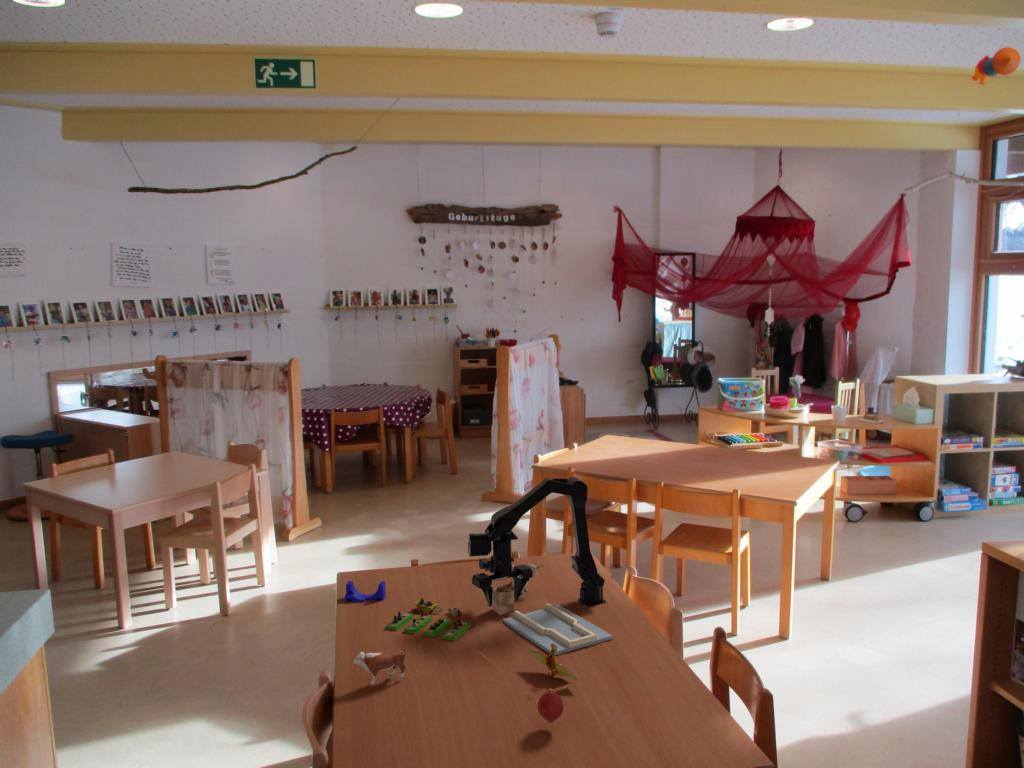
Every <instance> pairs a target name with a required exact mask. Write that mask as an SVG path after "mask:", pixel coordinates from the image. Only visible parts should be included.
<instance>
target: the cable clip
mask: <svg viewBox="0 0 1024 768" xmlns="http://www.w3.org/2000/svg"><path fill="white" fill-rule="evenodd" d="M386 596H387V594H386V581H380V582H379V583H378V584H377V590H376V591H375V592H373V593H372V594H363V593H361V592H359V591H358V590H357V588H356V587H355V585H354V581H351V580H350V581H348V582H346V584H345V595H344V601H345V603H348V601H349V600H351V603H365V601H378V600H379V599H381V601H384V600H385V599H386Z"/></svg>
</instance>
